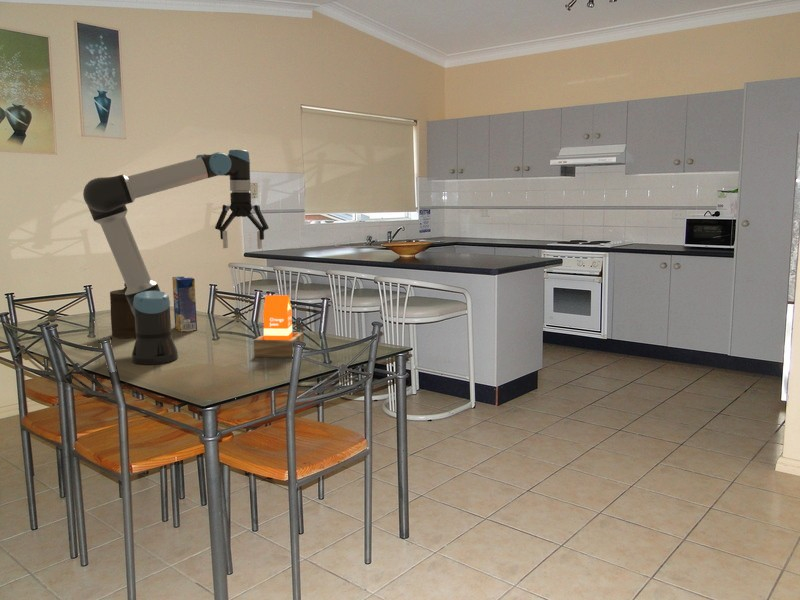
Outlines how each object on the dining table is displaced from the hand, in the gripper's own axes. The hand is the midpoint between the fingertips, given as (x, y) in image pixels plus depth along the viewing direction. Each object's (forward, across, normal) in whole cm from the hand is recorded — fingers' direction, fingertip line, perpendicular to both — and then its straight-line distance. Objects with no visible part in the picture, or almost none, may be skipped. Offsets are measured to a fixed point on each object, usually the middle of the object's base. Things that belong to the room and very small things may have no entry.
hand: (242, 248), depth 256 cm
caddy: (+37, -18, +14) cm, 43 cm away
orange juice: (+36, -18, +14) cm, 42 cm away
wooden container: (+37, +52, -8) cm, 64 cm away
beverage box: (+37, +35, -22) cm, 55 cm away
